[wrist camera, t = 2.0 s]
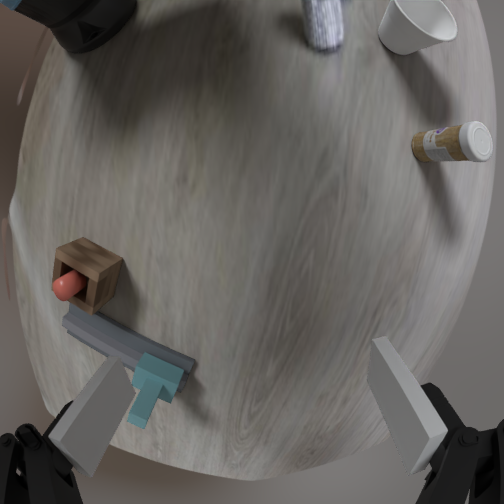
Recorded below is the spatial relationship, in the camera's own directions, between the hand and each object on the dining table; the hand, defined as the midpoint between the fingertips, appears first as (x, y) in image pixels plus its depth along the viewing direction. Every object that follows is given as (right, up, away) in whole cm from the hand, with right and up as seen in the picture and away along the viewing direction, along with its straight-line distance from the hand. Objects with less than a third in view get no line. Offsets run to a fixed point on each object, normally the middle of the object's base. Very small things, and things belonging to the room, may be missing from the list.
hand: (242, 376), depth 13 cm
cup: (+22, +38, +15) cm, 47 cm away
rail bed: (-21, -10, +29) cm, 38 cm away
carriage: (-15, -13, +28) cm, 35 cm away
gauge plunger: (-24, +2, +20) cm, 32 cm away
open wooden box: (-24, +4, +26) cm, 35 cm away
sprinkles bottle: (+25, +21, +20) cm, 38 cm away
